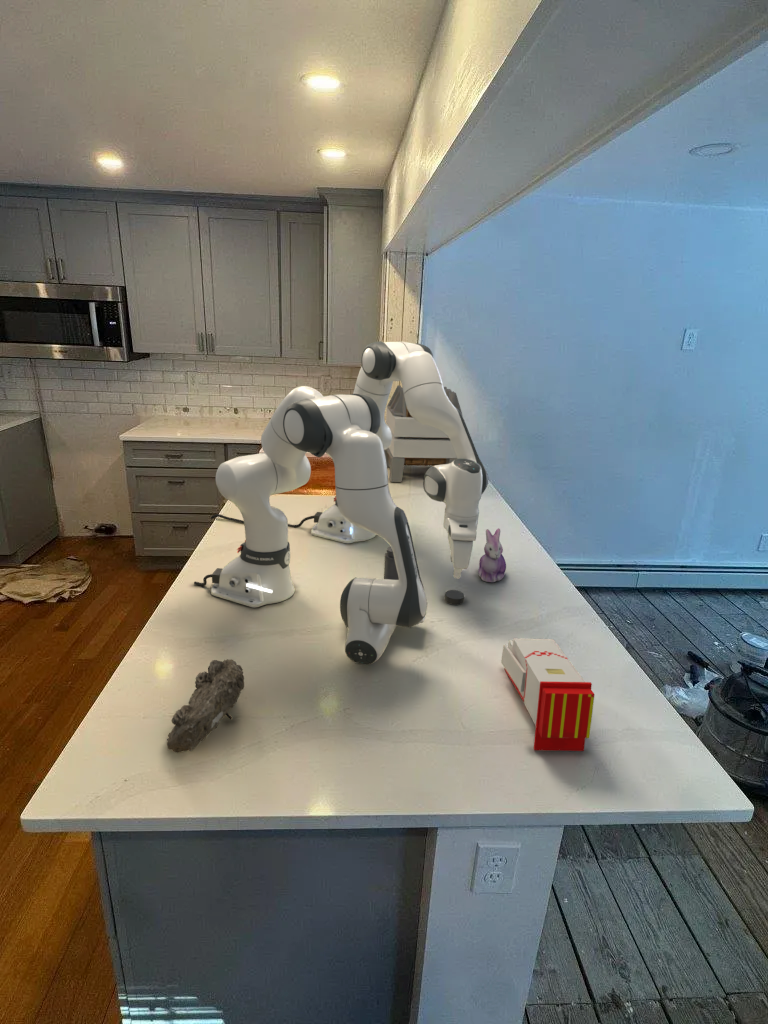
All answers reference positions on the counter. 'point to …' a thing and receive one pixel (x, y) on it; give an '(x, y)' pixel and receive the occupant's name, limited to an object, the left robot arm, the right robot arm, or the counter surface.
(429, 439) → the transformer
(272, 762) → the counter surface
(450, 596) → the lid
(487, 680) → the counter surface
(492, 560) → the figurine
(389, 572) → the dark grey long cylinder
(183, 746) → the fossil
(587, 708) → the toy
